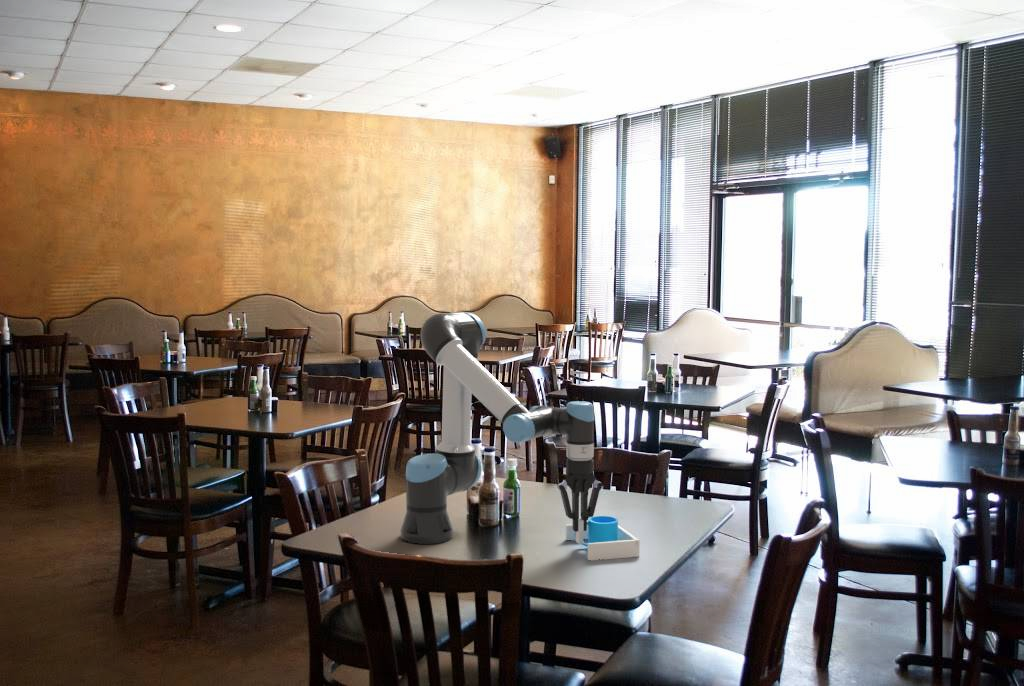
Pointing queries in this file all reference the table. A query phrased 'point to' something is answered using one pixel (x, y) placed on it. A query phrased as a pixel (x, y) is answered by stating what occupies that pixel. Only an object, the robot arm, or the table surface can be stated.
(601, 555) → the box
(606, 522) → the mug
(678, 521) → the table surface
